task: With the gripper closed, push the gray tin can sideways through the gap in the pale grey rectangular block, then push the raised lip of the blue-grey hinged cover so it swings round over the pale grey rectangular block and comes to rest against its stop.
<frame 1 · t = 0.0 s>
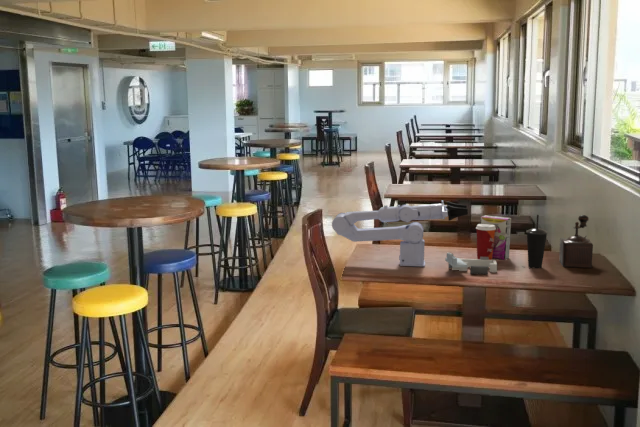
hand: (467, 209, 250), 22 cm above the table, tool horizontal, fingers open, 7 cm apart
gray tin can: (478, 274, 243), on the table
drinking cup: (534, 267, 253), on the table
cover: (456, 259, 244), point 5 cm above the table, hinge at -75.0°
pale grey rectangular block: (472, 269, 250), on the table
candy bar box: (493, 258, 268), on the table, touching paper cup
paper cup: (484, 260, 264), on the table, touching candy bar box
manual coffee grinder: (574, 263, 259), on the table
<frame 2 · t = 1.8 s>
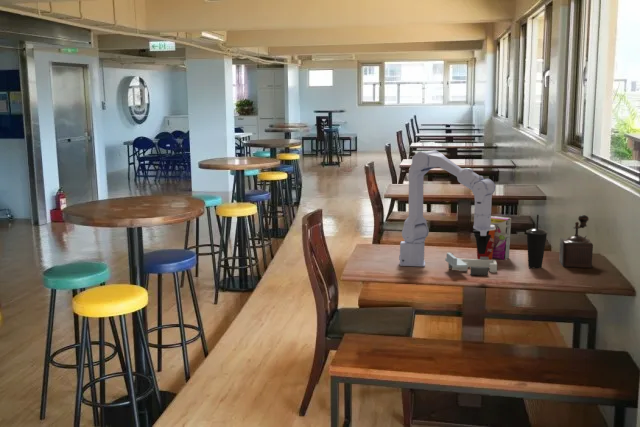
hand: (481, 251, 236), 9 cm above the table, tool pointing down, fingers open, 5 cm apart
gray tin can: (479, 272, 243), point 1 cm above the table, tilted 57°
everything else where it was.
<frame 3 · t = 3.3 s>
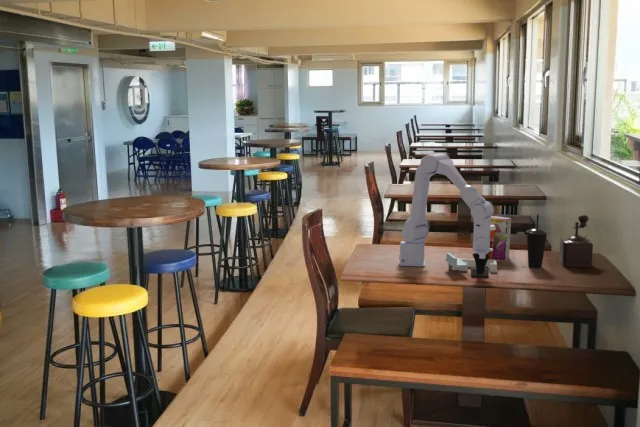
hand: (480, 273, 238), 1 cm above the table, tool pointing down, fingers closed
gray tin can: (479, 268, 241), point 2 cm above the table, tilted 132°
everything else where it was.
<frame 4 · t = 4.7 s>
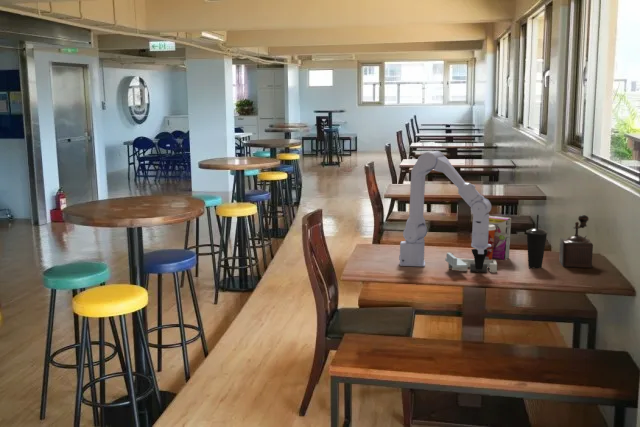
hand: (478, 269, 244), 1 cm above the table, tool pointing down, fingers closed
gray tin can: (478, 265, 245), point 3 cm above the table, tilted 145°
everything else where it was.
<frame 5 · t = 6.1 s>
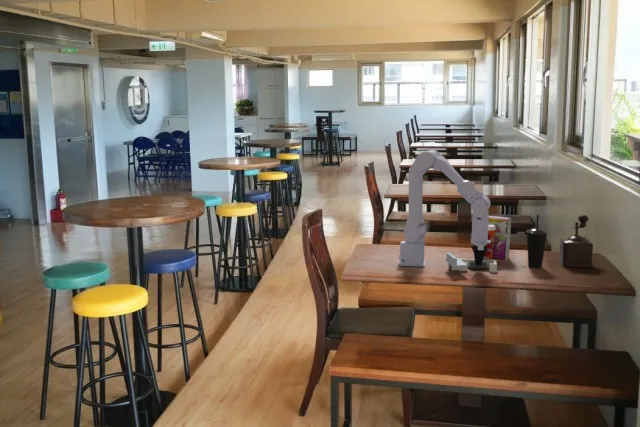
hand: (478, 265, 246), 2 cm above the table, tool pointing down, fingers closed
gray tin can: (477, 264, 251), point 1 cm above the table, tilted 88°
everything else where it was.
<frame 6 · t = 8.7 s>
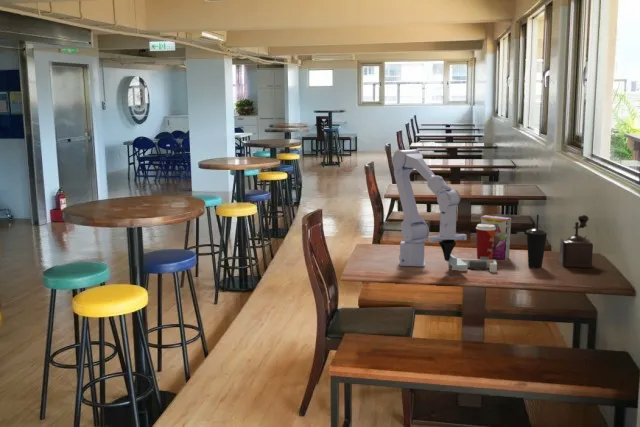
hand: (446, 260, 244), 5 cm above the table, tool pointing down, fingers closed, pressing on cover
gray tin can: (477, 266, 252), point 1 cm above the table, tilted 58°
cover: (456, 259, 244), point 5 cm above the table, hinge at -75.0°, touching gripper
everything else where it was.
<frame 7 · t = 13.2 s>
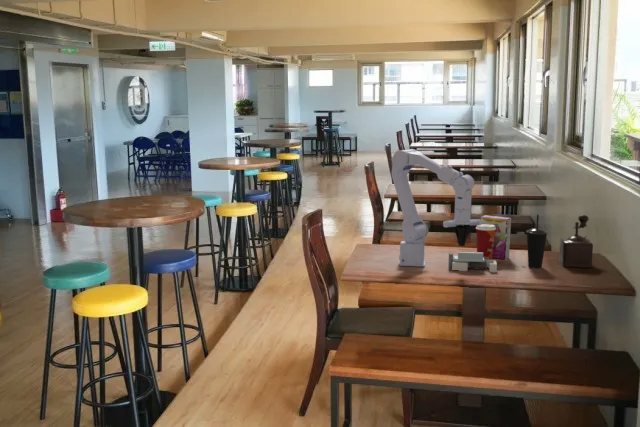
hand: (461, 245, 244), 10 cm above the table, tool pointing down, fingers closed
cover: (468, 255, 249), point 5 cm above the table, hinge at 2.4°, touching pale grey rectangular block
everything else where it was.
at the end: gray tin can 2.2 cm from the target spot, point 0.6 cm above the table; cover at +2° (first picture: -75°) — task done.
